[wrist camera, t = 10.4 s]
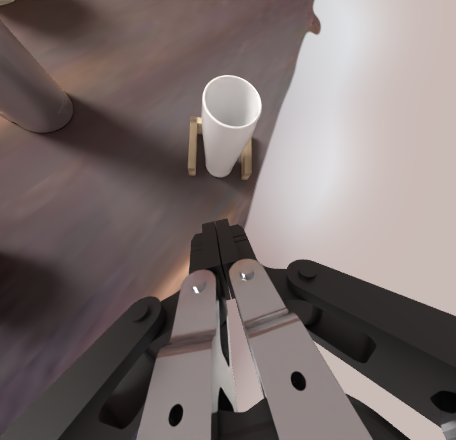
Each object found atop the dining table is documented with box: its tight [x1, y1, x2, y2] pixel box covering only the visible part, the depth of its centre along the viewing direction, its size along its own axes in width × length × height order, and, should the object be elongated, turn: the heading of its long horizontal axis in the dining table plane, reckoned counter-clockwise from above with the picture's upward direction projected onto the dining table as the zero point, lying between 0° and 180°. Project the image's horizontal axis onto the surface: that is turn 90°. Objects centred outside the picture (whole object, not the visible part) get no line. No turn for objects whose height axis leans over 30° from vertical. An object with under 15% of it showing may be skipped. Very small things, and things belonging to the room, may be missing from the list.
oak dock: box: [188, 116, 252, 180], centre depth 31 cm, size 11×10×4 cm
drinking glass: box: [202, 75, 262, 177], centre depth 25 cm, size 7×7×15 cm
